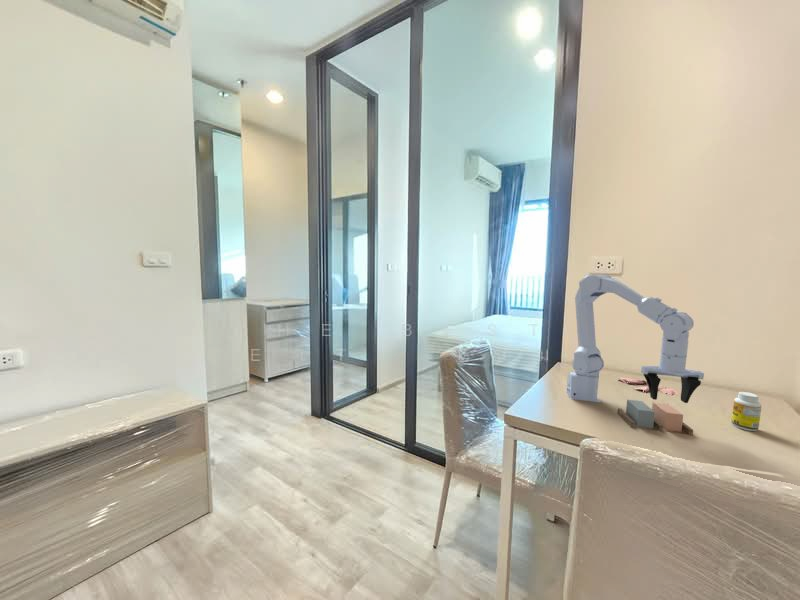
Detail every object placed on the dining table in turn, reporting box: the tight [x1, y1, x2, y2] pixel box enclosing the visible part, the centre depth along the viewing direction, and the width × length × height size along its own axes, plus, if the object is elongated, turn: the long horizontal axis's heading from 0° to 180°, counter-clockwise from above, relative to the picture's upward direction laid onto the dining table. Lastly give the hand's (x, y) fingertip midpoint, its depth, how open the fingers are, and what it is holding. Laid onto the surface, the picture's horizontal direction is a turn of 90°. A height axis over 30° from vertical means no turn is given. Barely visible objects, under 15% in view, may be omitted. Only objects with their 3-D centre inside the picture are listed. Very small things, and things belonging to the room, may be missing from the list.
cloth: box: [617, 377, 680, 396], centre depth 131 cm, size 20×22×2 cm
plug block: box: [651, 401, 684, 432], centre depth 96 cm, size 4×8×5 cm, turn 165°
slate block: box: [625, 399, 655, 429], centre depth 97 cm, size 4×8×5 cm, turn 165°
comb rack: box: [616, 408, 694, 436], centre depth 97 cm, size 15×10×2 cm, turn 75°
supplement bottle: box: [731, 391, 762, 432], centre depth 96 cm, size 6×6×10 cm
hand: (668, 400), depth 95 cm, fingers open, 7 cm apart
